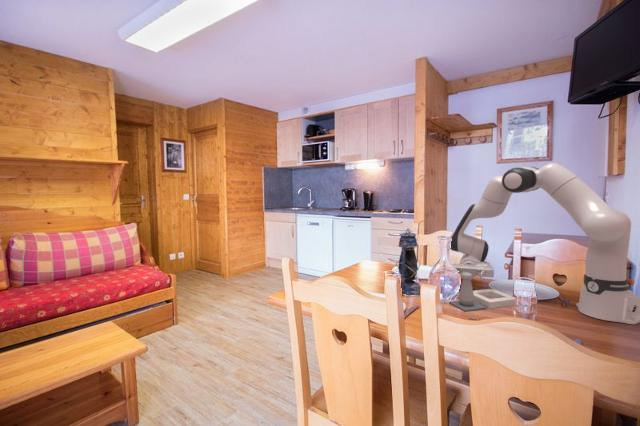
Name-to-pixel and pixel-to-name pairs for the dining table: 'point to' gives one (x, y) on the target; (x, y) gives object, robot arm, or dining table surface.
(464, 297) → the salt shaker
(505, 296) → the socket block
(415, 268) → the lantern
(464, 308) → the rubber pad
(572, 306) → the dining table surface
